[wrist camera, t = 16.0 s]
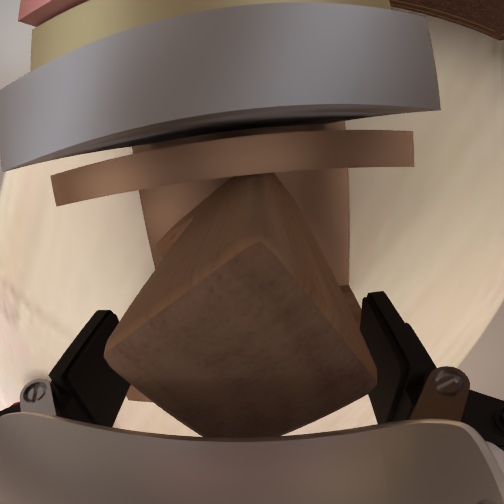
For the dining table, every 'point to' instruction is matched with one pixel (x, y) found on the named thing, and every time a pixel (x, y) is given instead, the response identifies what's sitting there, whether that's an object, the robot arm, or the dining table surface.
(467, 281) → the dining table surface
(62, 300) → the dining table surface
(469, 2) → the book
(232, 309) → the wooden block
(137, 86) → the book rack
